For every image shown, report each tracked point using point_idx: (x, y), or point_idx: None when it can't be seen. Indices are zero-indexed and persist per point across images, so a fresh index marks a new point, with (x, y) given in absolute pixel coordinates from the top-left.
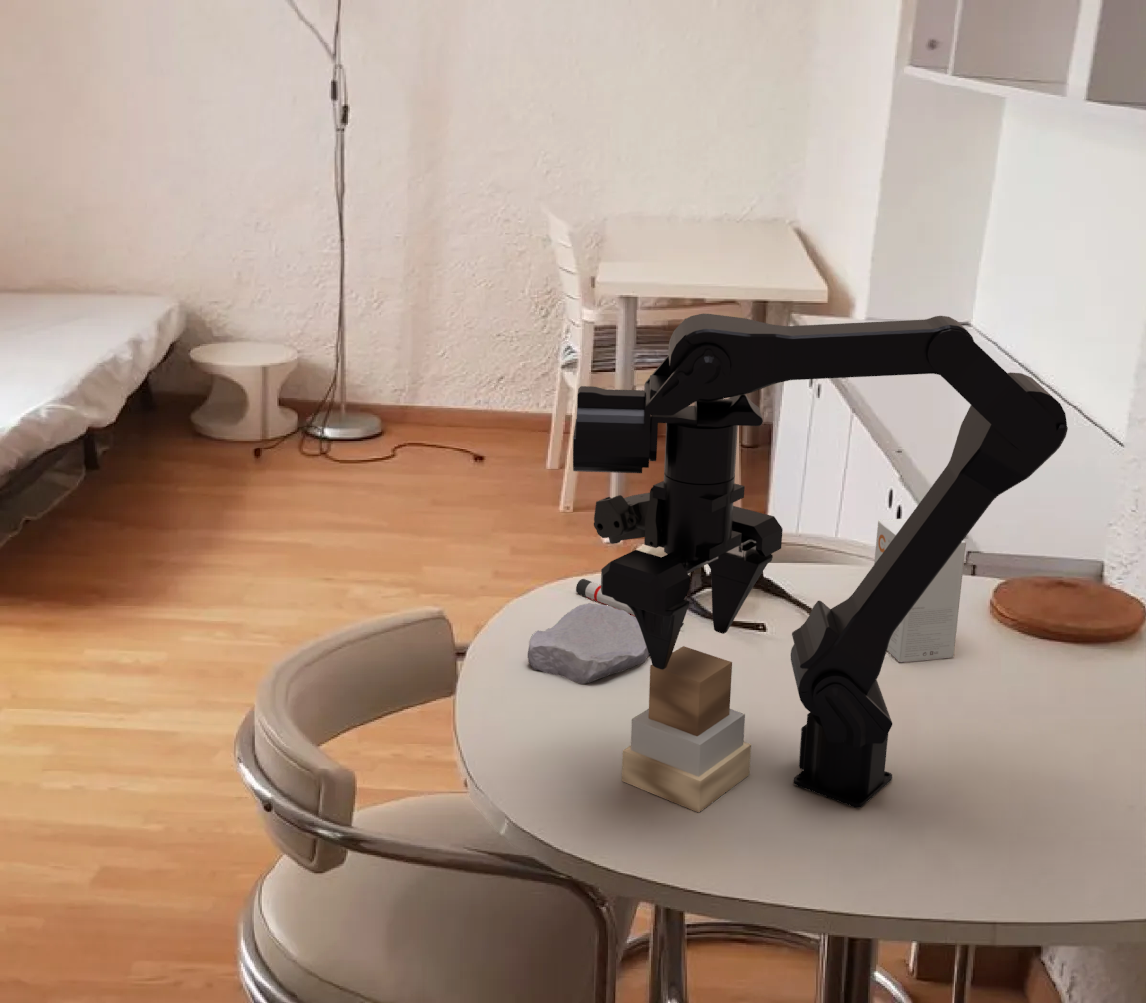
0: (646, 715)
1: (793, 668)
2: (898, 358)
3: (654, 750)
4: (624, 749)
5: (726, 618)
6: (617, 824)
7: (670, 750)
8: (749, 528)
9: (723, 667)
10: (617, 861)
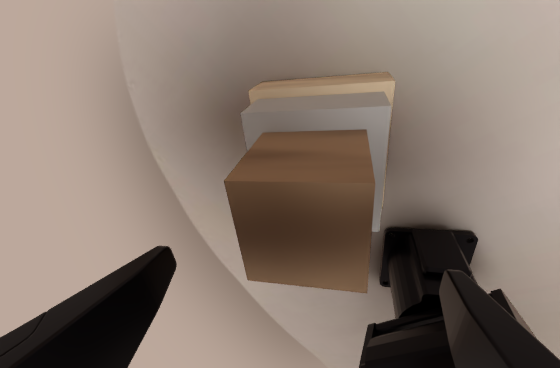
0: (267, 124)
1: (434, 353)
2: None
3: None
4: (252, 90)
5: (455, 345)
6: (201, 136)
7: None
8: None
9: (332, 289)
10: (167, 171)
